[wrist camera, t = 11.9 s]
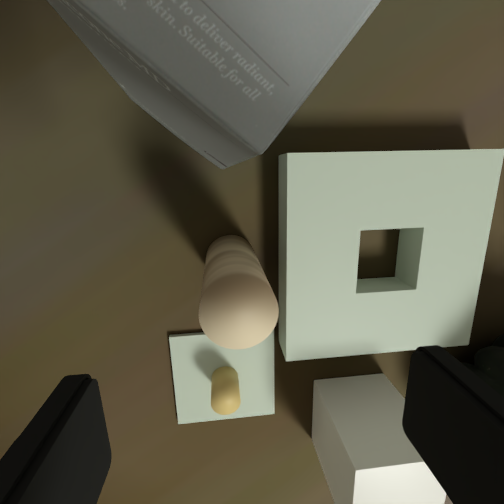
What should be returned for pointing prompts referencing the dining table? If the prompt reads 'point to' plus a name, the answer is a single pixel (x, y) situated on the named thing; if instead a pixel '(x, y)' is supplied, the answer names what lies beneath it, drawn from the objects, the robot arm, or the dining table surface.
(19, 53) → the dining table surface
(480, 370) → the squash
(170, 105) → the skincare box
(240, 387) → the tile
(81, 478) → the robot arm
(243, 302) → the peg
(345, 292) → the peg board
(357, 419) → the block
